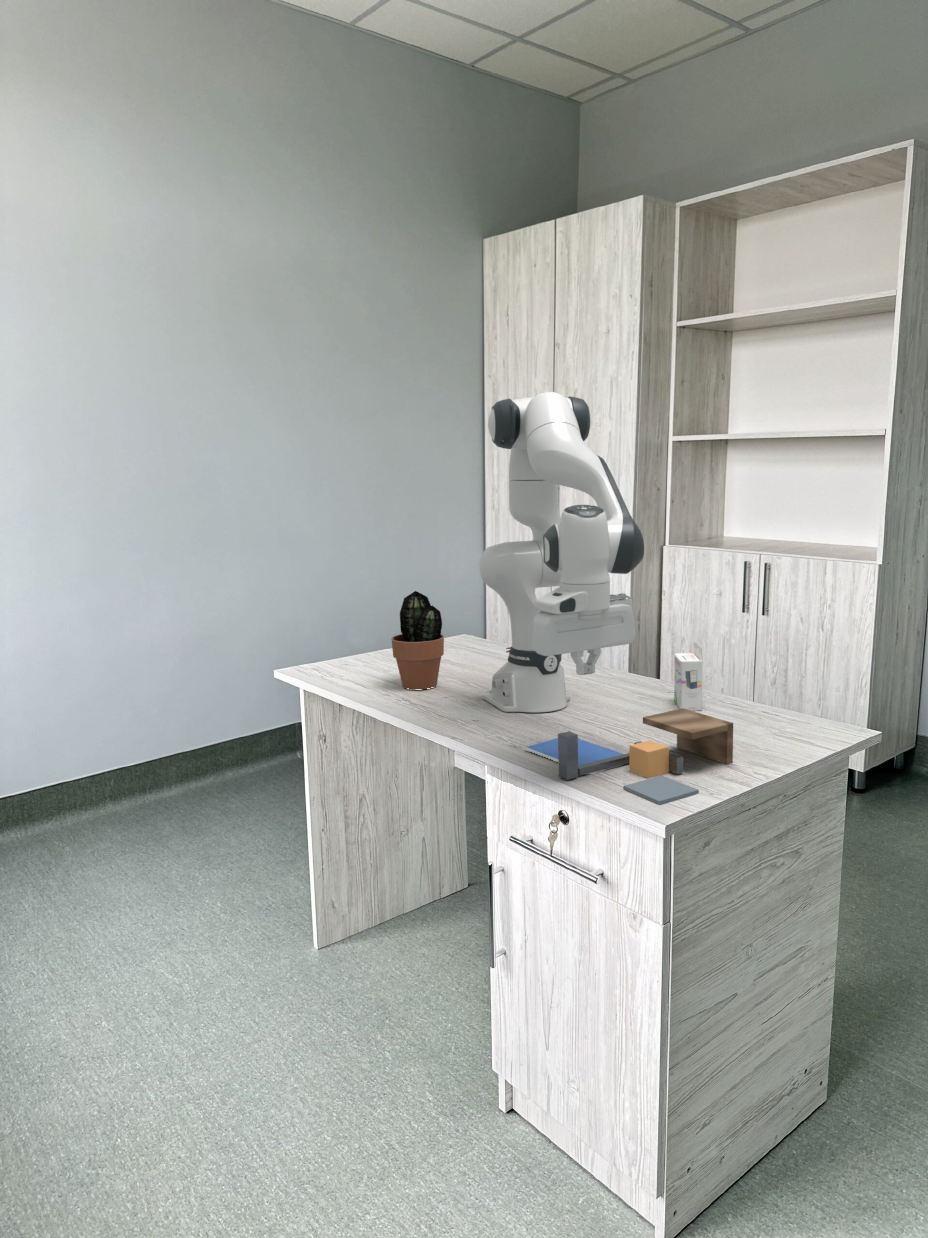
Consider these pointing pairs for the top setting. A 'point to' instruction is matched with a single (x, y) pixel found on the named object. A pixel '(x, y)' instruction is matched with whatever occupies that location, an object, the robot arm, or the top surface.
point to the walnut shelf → (697, 733)
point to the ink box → (688, 679)
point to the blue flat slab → (585, 752)
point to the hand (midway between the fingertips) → (585, 673)
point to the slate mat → (661, 789)
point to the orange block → (649, 759)
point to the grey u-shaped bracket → (572, 770)
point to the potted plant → (418, 642)
